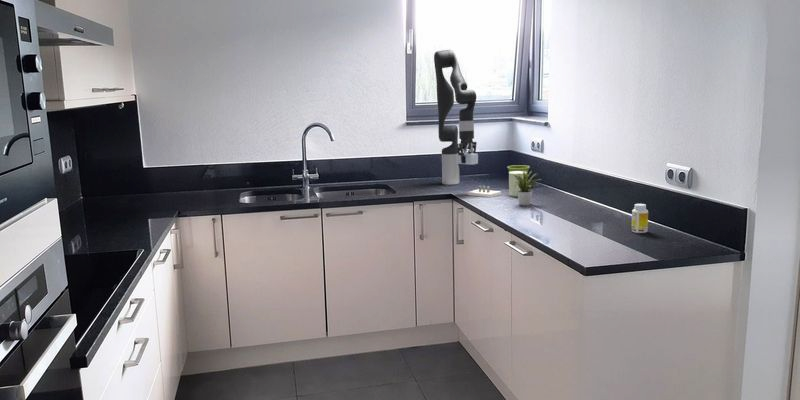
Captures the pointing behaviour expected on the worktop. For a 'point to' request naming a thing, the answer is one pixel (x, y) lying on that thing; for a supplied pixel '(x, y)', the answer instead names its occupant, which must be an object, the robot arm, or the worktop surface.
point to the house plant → (525, 188)
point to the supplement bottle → (640, 218)
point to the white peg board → (484, 192)
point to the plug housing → (468, 159)
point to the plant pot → (518, 168)
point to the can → (511, 185)
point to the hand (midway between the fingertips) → (467, 162)
